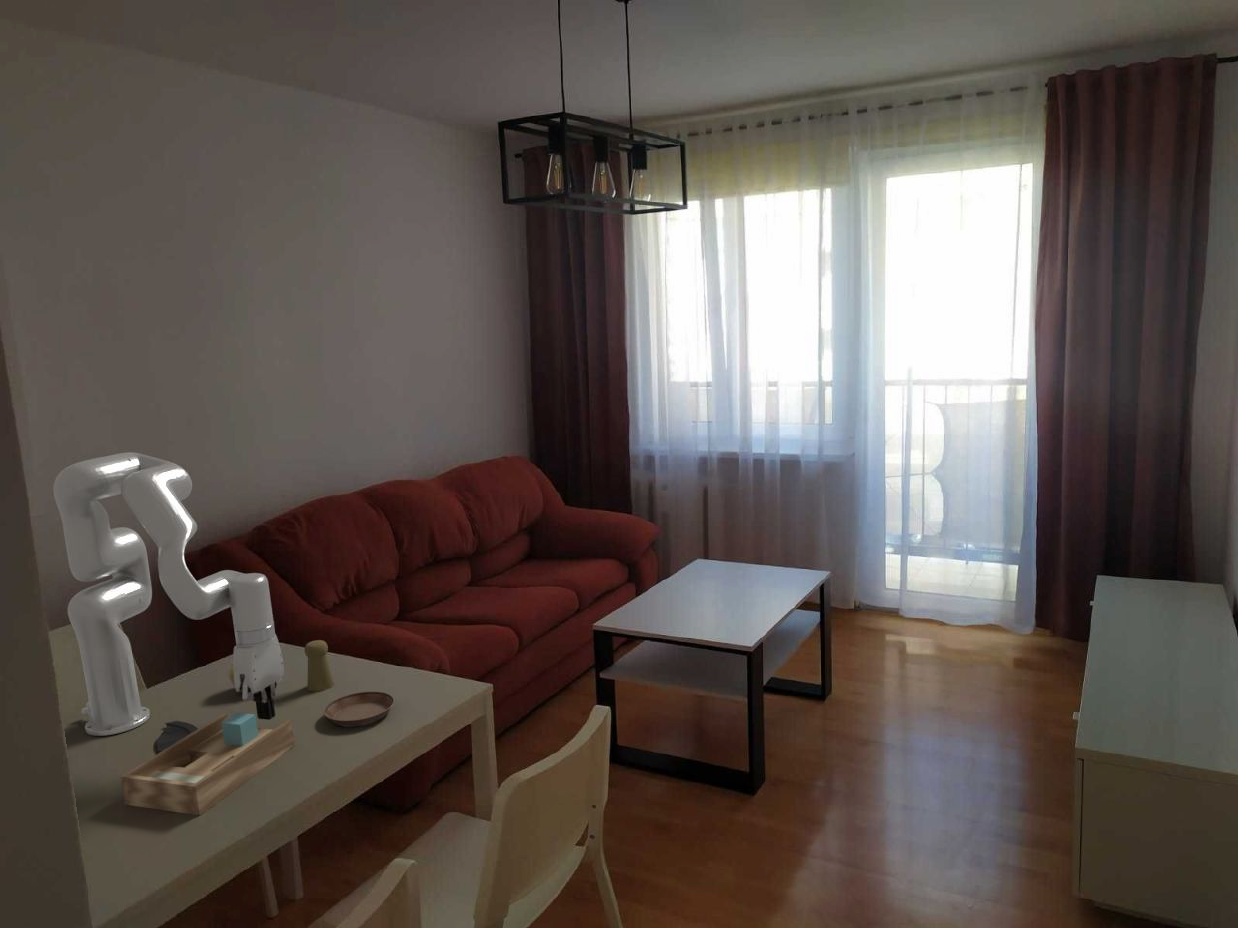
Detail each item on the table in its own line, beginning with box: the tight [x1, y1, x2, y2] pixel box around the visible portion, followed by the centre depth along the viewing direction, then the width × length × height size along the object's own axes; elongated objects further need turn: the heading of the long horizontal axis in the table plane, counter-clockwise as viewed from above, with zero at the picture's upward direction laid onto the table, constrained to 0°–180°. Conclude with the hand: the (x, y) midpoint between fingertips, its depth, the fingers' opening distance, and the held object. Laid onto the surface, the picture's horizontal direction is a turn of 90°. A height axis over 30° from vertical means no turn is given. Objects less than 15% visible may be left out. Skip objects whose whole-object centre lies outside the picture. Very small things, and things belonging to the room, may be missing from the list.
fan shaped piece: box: [156, 720, 199, 754], centre depth 190 cm, size 8×14×2 cm, turn 26°
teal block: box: [222, 712, 259, 746], centre depth 180 cm, size 4×4×4 cm
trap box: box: [120, 713, 296, 816], centre depth 173 cm, size 17×26×6 cm, turn 162°
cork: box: [304, 639, 335, 693], centre depth 211 cm, size 6×6×11 cm
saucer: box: [323, 690, 395, 728], centre depth 195 cm, size 15×15×3 cm
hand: (266, 717), depth 187 cm, fingers closed
